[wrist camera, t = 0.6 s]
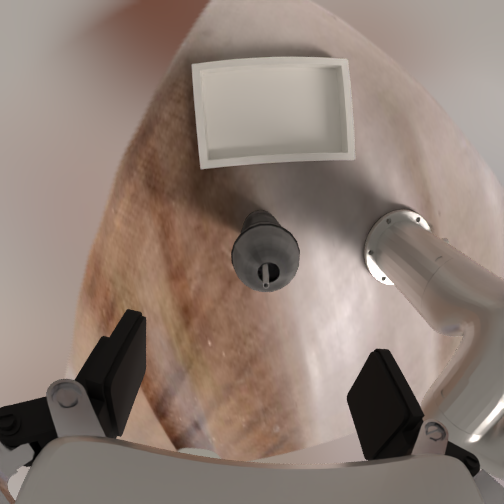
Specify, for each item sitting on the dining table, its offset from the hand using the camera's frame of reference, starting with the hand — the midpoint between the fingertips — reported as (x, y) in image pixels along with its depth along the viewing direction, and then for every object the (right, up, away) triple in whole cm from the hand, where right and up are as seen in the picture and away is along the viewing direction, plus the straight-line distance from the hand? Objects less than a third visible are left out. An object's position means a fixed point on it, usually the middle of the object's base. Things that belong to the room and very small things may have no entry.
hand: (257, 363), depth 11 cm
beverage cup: (+1, +8, +31) cm, 32 cm away
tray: (+3, +23, +25) cm, 34 cm away
